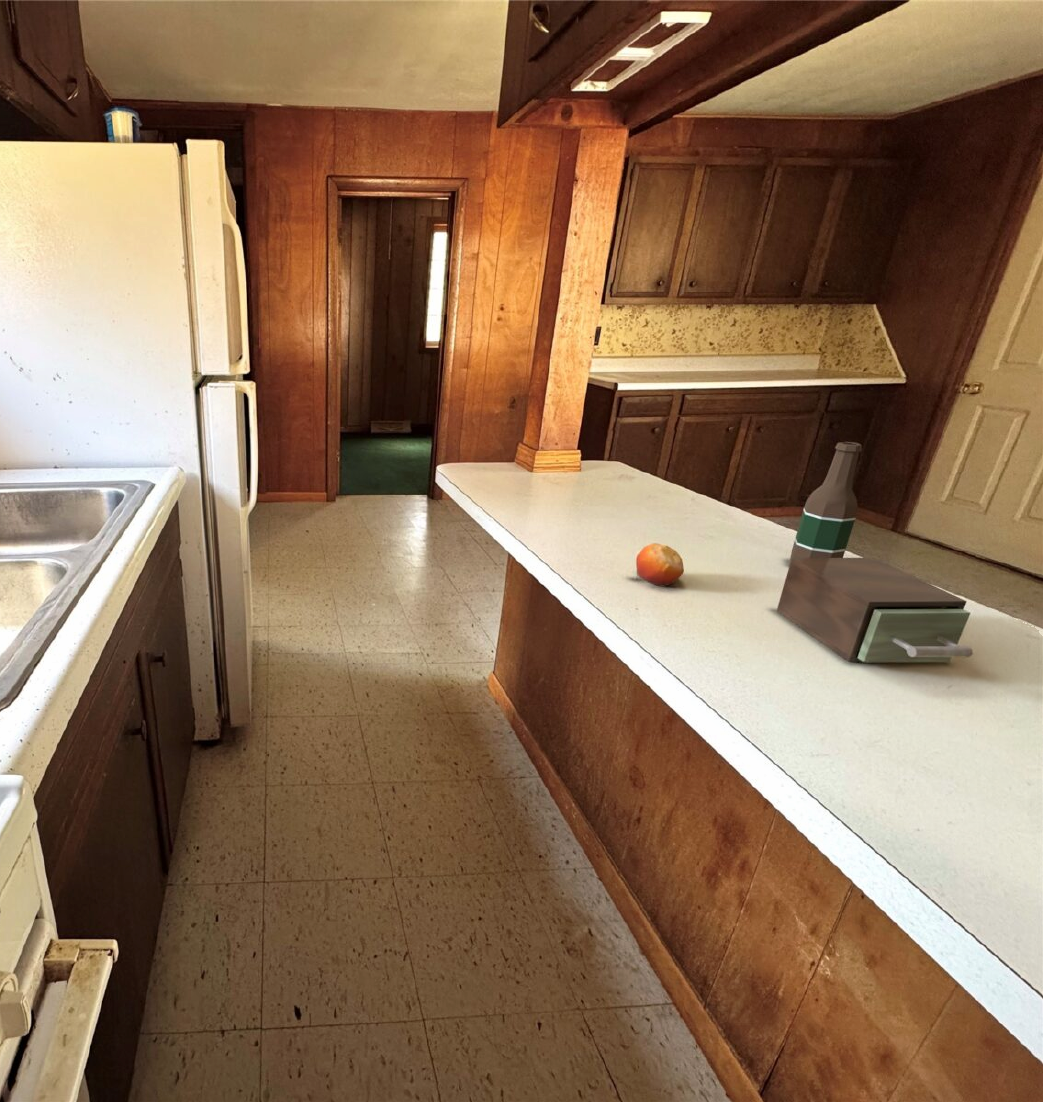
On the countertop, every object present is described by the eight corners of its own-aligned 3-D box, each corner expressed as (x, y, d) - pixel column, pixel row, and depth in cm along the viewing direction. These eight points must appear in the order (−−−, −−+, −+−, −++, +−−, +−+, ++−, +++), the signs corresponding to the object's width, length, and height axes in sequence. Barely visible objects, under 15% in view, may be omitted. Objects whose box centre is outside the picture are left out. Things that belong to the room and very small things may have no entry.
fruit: (632, 559, 119) (661, 531, 114) (666, 588, 116) (698, 560, 111) (616, 572, 114) (646, 543, 109) (651, 602, 111) (684, 574, 106)
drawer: (979, 679, 80) (1002, 628, 77) (888, 679, 81) (908, 628, 78) (866, 613, 97) (882, 569, 94) (792, 613, 98) (805, 570, 95)
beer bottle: (802, 574, 114) (839, 448, 105) (779, 558, 121) (812, 438, 112) (848, 575, 112) (890, 448, 104) (823, 559, 120) (860, 438, 111)
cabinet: (941, 661, 86) (967, 601, 82) (848, 661, 87) (869, 602, 83) (855, 610, 100) (873, 557, 97) (776, 611, 101) (791, 558, 97)
